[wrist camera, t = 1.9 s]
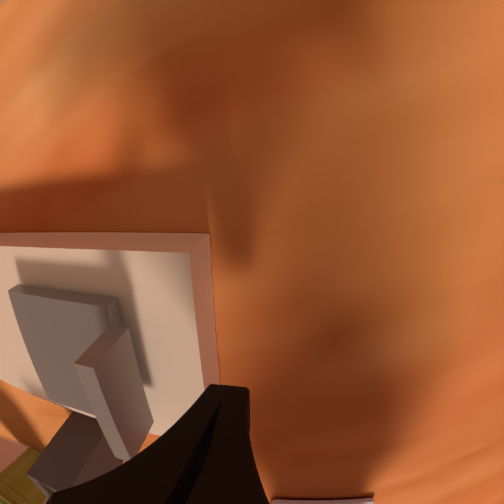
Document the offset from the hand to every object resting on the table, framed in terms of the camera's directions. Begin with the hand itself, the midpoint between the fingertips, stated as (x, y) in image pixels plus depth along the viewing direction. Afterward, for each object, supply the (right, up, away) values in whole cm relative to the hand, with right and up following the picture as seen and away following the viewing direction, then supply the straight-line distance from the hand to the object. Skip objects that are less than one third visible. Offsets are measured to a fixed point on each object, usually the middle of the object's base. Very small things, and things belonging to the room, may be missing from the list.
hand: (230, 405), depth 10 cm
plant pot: (-22, -19, +14) cm, 32 cm away
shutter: (-7, +1, +2) cm, 7 cm away
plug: (-11, -8, +9) cm, 16 cm away
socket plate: (-10, +2, +5) cm, 11 cm away
